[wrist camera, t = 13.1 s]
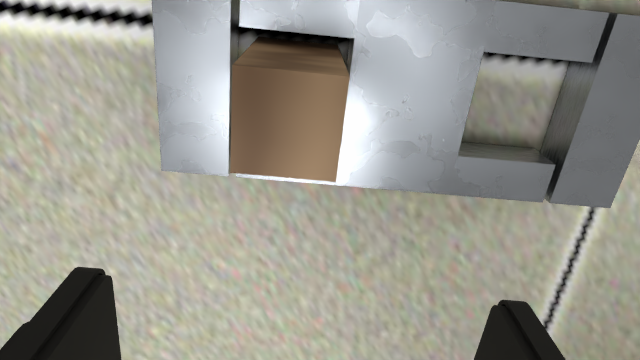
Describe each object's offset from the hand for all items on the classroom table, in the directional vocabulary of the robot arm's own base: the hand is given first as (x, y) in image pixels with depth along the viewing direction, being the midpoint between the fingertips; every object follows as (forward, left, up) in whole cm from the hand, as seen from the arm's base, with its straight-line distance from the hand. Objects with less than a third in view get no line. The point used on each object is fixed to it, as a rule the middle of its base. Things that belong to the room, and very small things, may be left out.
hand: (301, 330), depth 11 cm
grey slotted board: (-6, -2, -21) cm, 21 cm away
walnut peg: (+1, -2, -21) cm, 21 cm away
